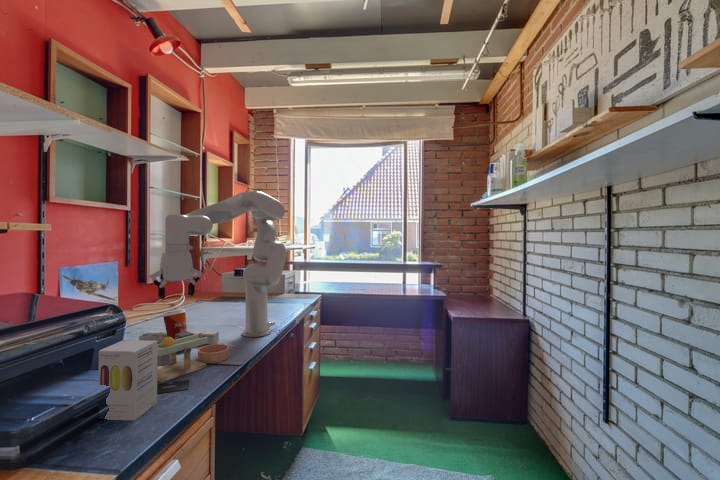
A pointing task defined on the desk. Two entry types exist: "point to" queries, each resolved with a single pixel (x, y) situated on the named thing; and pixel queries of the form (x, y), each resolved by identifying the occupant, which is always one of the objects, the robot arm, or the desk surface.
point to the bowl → (213, 353)
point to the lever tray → (178, 346)
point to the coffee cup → (175, 322)
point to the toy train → (212, 336)
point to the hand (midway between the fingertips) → (176, 297)
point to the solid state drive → (172, 386)
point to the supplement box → (129, 378)
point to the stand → (178, 366)
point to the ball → (167, 342)
